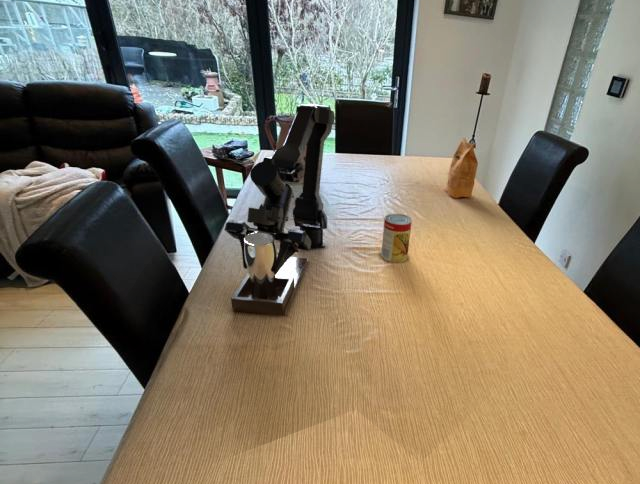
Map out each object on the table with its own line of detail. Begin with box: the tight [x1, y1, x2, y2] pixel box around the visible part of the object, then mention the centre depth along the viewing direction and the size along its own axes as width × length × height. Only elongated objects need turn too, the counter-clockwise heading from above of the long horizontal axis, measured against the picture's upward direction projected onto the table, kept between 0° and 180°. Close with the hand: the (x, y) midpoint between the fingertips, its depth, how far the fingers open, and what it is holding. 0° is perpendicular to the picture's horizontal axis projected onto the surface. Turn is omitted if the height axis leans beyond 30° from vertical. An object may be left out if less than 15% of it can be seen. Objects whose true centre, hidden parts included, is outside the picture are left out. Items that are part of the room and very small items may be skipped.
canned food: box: [380, 213, 413, 263], centre depth 121 cm, size 8×8×12 cm
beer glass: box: [244, 232, 278, 300], centre depth 94 cm, size 7×7×15 cm
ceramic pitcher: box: [264, 114, 307, 185], centre depth 169 cm, size 18×21×25 cm
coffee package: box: [445, 137, 479, 199], centre depth 173 cm, size 10×12×22 cm
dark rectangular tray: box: [230, 256, 308, 316], centre depth 104 cm, size 27×12×4 cm, turn 178°
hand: (259, 270), depth 93 cm, fingers closed on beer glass, 7 cm apart
